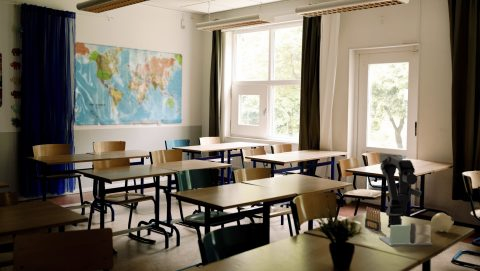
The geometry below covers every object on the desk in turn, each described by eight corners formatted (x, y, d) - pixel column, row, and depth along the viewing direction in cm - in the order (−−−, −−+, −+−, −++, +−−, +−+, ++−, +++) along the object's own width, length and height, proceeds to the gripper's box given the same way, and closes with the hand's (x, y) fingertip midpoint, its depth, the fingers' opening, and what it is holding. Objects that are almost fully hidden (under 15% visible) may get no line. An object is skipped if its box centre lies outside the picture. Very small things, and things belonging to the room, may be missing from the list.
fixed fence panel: (428, 241, 238) (429, 222, 238) (430, 243, 236) (431, 223, 235) (409, 242, 237) (409, 223, 236) (411, 243, 235) (411, 224, 234)
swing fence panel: (408, 242, 236) (408, 224, 236) (409, 242, 235) (410, 225, 234) (389, 243, 235) (390, 225, 234) (390, 243, 234) (391, 226, 233)
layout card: (419, 236, 249) (419, 235, 249) (432, 244, 235) (432, 243, 235) (378, 238, 246) (378, 237, 246) (390, 246, 232) (390, 245, 232)
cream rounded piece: (457, 232, 257) (458, 213, 256) (442, 235, 251) (443, 215, 251) (441, 228, 266) (442, 209, 265) (427, 230, 260) (427, 212, 259)
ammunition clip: (364, 226, 268) (365, 206, 267) (366, 226, 269) (367, 205, 268) (378, 231, 259) (379, 210, 258) (381, 231, 260) (381, 209, 259)
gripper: (420, 184, 243) (420, 215, 242) (420, 182, 260) (420, 210, 260) (397, 184, 247) (397, 214, 246) (399, 181, 264) (399, 209, 264)
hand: (404, 212), depth 254 cm, fingers closed
